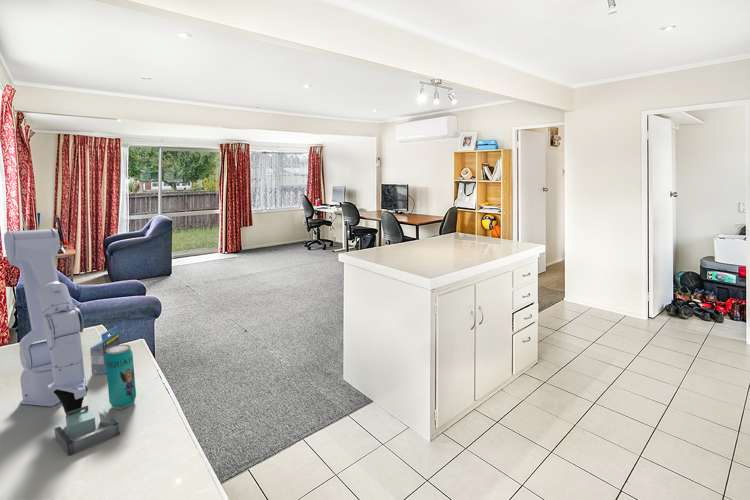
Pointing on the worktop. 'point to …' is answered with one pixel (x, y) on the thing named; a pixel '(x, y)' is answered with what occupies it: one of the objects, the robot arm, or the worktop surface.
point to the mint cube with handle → (80, 421)
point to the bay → (89, 435)
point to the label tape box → (103, 351)
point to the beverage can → (120, 376)
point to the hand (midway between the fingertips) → (73, 417)
